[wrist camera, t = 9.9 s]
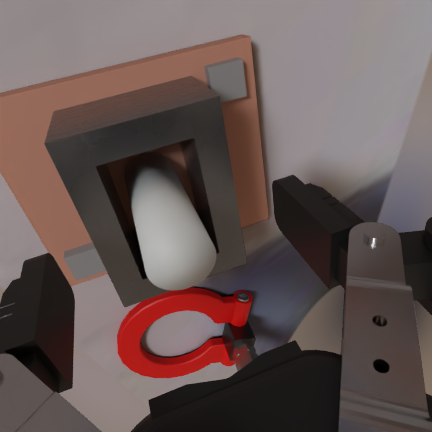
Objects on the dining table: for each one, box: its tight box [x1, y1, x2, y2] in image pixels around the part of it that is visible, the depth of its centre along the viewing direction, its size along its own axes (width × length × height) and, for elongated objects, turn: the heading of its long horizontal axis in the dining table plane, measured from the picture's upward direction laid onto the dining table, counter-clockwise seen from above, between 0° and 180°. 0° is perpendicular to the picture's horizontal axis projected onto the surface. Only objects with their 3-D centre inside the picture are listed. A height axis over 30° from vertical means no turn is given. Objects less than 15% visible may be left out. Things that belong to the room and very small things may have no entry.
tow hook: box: [117, 287, 258, 378], centre depth 20 cm, size 8×13×9 cm
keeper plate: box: [0, 35, 269, 290], centre depth 15 cm, size 10×12×8 cm
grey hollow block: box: [44, 76, 247, 307], centre depth 15 cm, size 8×6×4 cm
